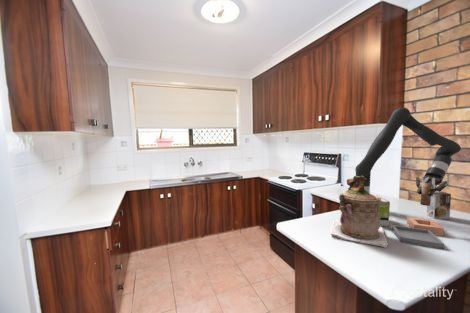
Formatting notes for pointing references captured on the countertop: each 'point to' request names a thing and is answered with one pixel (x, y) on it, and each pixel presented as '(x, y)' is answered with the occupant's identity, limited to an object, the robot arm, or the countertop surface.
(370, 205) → the cookie jar
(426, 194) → the walnut dowel
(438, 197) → the coffee box
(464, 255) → the countertop surface
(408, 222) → the salmon square ring
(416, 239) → the gray tray
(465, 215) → the countertop surface
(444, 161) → the robot arm
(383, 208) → the tea box
